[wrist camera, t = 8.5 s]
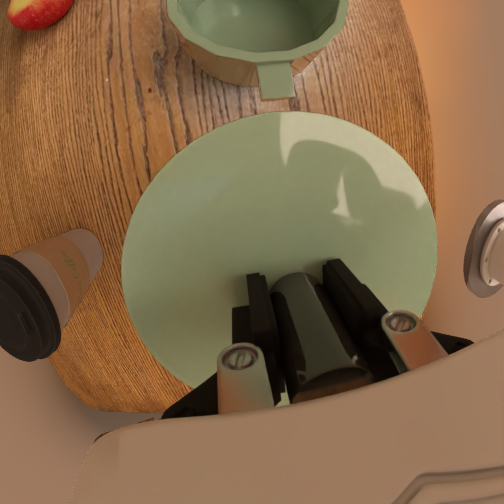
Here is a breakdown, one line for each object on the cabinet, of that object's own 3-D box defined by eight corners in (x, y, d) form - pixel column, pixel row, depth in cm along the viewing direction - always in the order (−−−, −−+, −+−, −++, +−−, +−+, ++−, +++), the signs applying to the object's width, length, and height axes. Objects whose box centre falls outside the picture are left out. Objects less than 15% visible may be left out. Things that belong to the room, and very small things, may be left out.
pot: (299, -35, 18) (317, -75, 10) (333, 106, 25) (371, 93, 17) (176, -23, 18) (161, -64, 10) (196, 123, 25) (179, 112, 17)
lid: (421, 112, 10) (535, 111, 4) (406, 359, 15) (454, 432, 9) (95, 154, 10) (-20, 176, 4) (181, 403, 15) (169, 495, 9)
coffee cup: (132, 262, 29) (70, 348, 15) (84, 300, 31) (25, 380, 17) (83, 195, 26) (-11, 239, 12) (40, 242, 27) (-39, 298, 13)
